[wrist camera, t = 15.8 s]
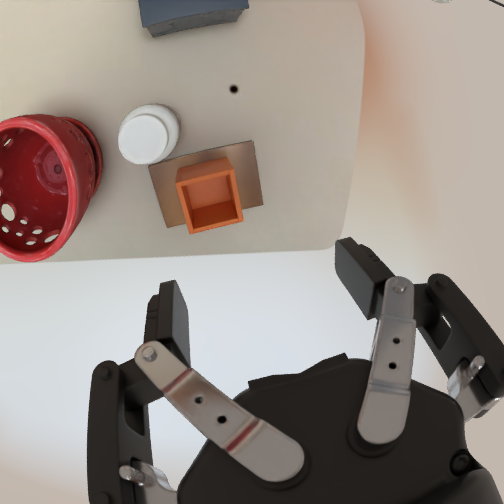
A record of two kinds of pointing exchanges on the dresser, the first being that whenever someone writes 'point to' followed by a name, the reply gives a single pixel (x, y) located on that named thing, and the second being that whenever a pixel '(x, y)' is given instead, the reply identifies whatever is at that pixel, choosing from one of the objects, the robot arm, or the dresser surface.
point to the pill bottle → (149, 133)
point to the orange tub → (209, 195)
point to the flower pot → (45, 182)
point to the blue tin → (187, 14)
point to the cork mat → (166, 170)
